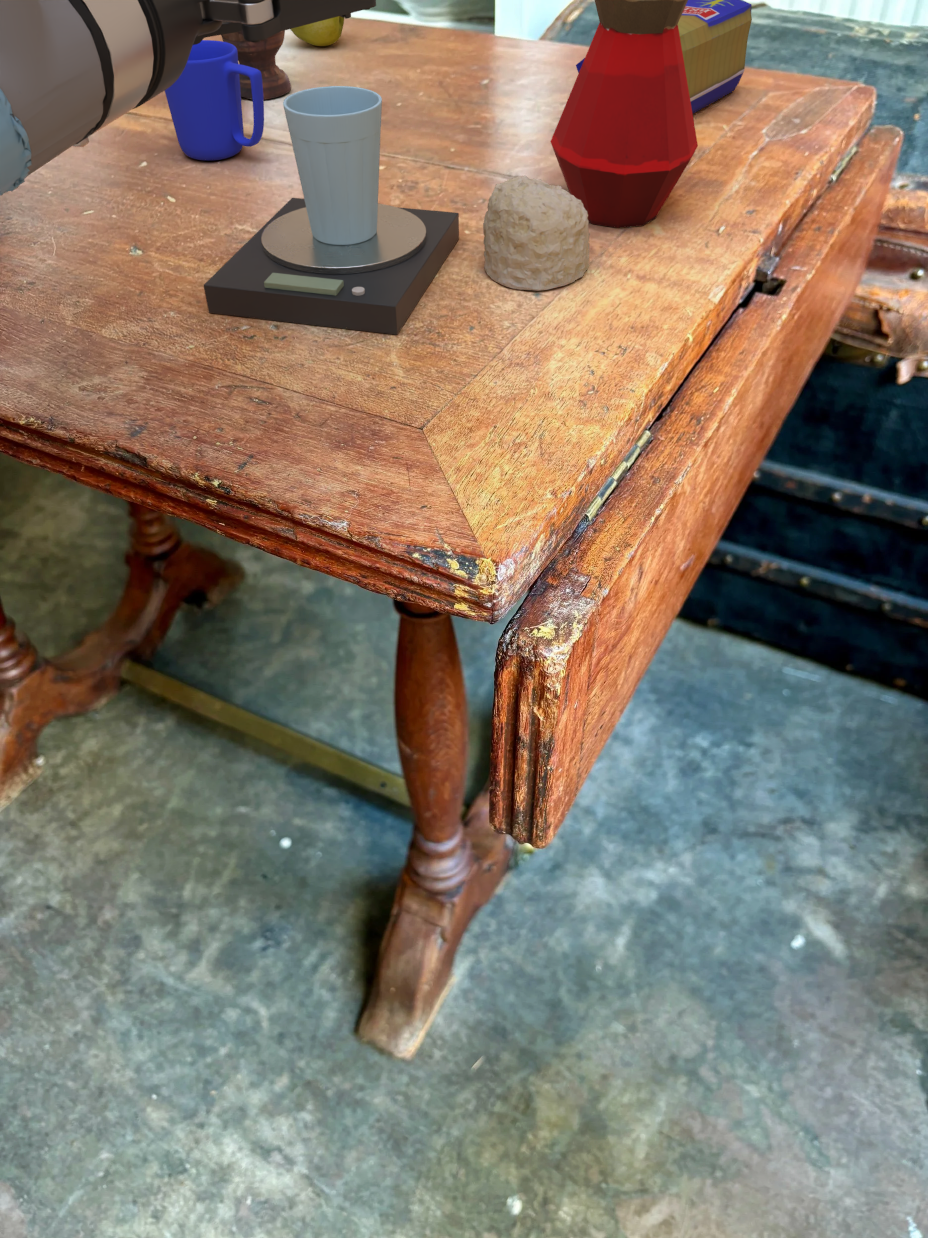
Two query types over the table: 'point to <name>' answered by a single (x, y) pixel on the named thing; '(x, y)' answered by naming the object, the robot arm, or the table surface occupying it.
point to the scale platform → (303, 252)
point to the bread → (712, 47)
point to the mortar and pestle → (260, 64)
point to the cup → (337, 159)
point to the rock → (535, 235)
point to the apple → (320, 31)
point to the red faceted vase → (628, 115)
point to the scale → (331, 283)
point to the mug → (214, 103)
